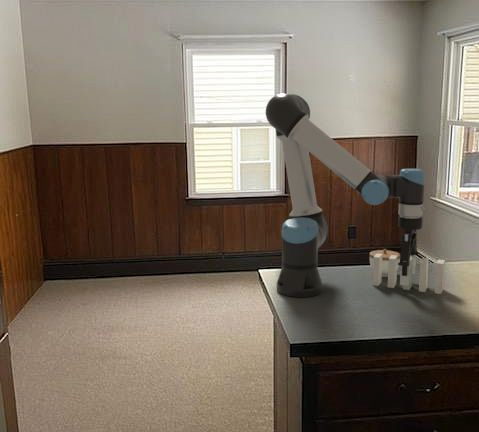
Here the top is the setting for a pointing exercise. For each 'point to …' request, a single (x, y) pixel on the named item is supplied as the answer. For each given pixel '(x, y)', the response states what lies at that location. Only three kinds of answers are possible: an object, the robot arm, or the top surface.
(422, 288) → the tile
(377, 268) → the tile
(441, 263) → the tile
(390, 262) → the tile
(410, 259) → the tile
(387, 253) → the lidded jar
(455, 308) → the top surface
